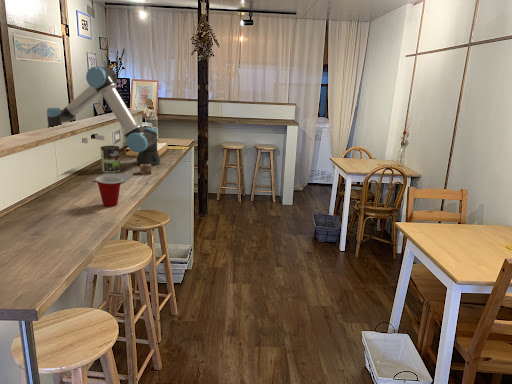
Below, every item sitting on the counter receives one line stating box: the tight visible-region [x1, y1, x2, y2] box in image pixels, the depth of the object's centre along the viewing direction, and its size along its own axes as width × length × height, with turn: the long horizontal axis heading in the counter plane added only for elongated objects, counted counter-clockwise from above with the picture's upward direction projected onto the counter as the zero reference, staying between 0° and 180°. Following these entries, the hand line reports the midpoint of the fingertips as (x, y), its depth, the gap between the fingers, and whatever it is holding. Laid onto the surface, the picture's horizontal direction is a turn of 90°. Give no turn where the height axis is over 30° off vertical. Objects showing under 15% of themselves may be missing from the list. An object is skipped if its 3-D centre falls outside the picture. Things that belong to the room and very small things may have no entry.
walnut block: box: [139, 164, 152, 175], centre depth 227 cm, size 6×6×5 cm
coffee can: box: [100, 145, 121, 174], centre depth 228 cm, size 10×10×14 cm
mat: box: [92, 172, 134, 184], centre depth 212 cm, size 16×16×1 cm
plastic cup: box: [95, 175, 123, 208], centre depth 169 cm, size 11×11×12 cm
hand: (95, 139), depth 228 cm, fingers open, 13 cm apart
